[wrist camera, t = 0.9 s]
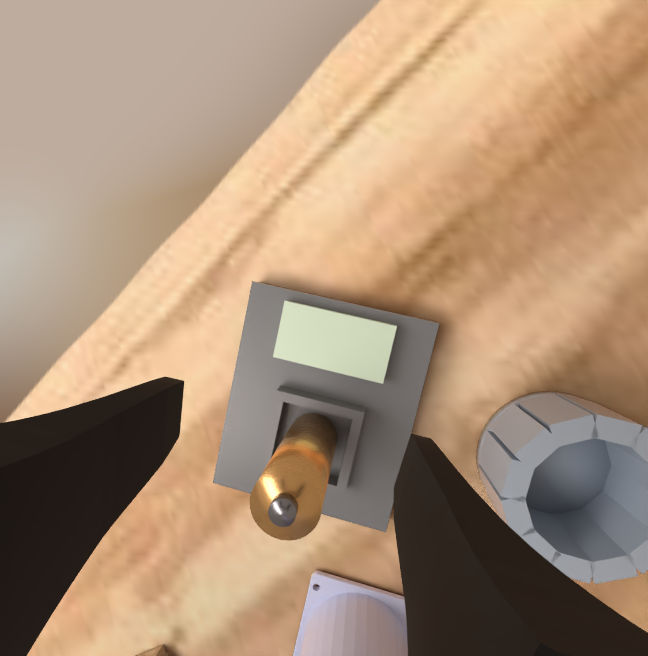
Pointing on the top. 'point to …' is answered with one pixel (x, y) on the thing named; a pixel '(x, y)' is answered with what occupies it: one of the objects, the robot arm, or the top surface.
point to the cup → (570, 483)
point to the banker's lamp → (155, 652)
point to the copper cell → (295, 479)
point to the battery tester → (327, 393)
